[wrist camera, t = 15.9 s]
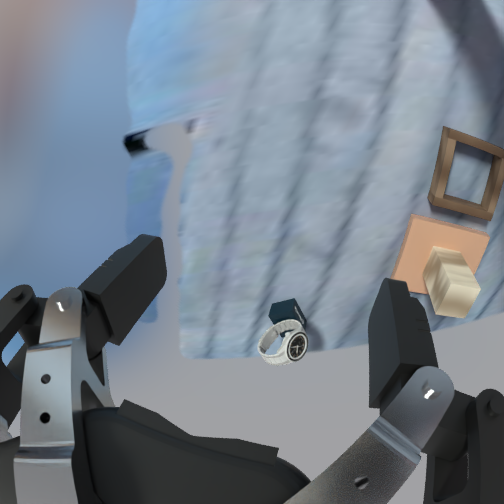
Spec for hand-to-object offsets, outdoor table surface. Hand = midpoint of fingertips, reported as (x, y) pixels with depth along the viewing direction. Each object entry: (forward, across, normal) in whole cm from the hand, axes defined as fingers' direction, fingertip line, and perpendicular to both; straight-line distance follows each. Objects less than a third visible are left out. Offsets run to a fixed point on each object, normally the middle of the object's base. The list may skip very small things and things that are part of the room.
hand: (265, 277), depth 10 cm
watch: (+30, 0, +30) cm, 43 cm away
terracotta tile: (+30, -22, +14) cm, 40 cm away
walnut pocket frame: (+30, -22, 0) cm, 37 cm away
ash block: (+29, -22, +14) cm, 39 cm away
